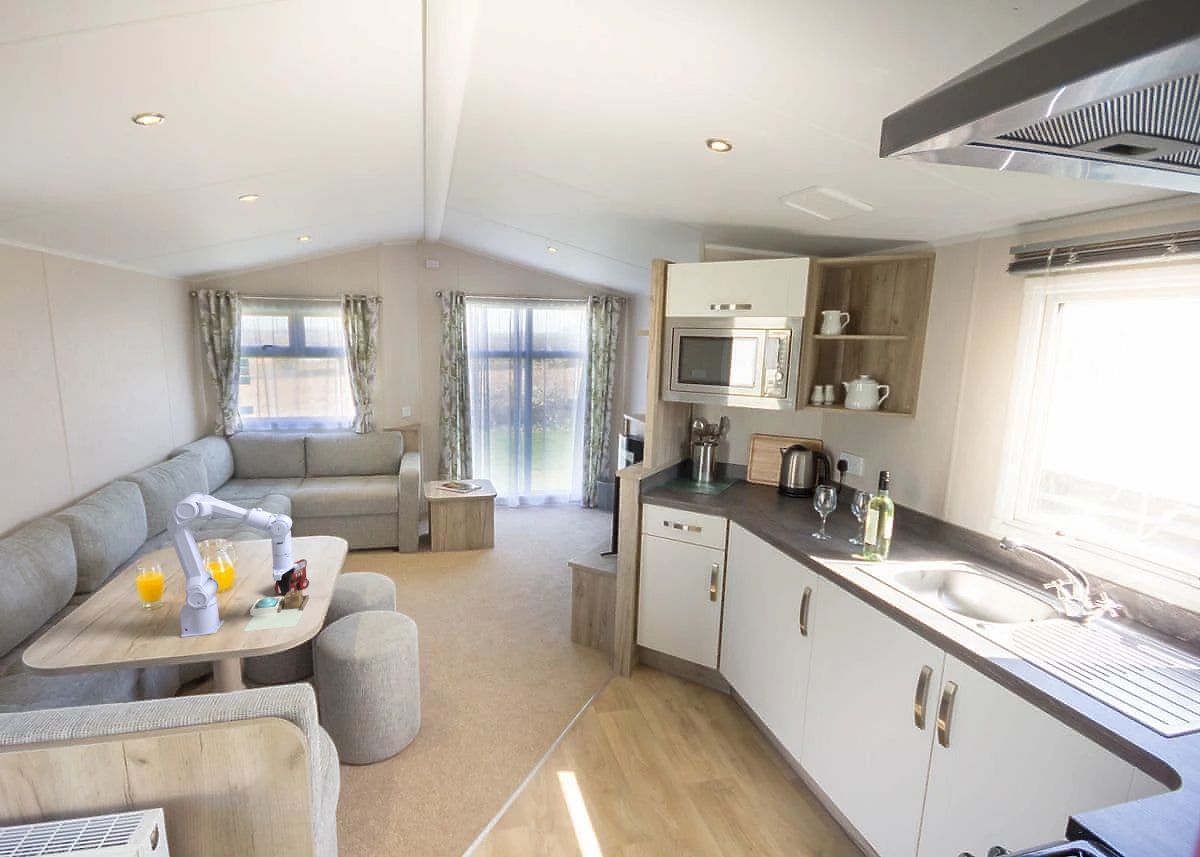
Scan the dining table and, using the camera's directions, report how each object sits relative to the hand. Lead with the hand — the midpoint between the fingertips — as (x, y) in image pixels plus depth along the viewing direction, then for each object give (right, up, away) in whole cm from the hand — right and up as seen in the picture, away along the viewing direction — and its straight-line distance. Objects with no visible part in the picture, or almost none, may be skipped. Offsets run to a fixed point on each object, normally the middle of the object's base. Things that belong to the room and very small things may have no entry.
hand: (285, 591), depth 182 cm
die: (-2, -8, +10) cm, 13 cm away
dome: (-10, -7, +7) cm, 14 cm away
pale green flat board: (-5, -9, +4) cm, 11 cm away
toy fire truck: (-10, -6, +22) cm, 25 cm away
